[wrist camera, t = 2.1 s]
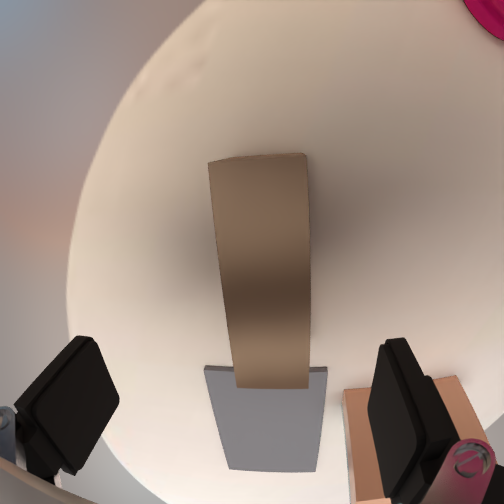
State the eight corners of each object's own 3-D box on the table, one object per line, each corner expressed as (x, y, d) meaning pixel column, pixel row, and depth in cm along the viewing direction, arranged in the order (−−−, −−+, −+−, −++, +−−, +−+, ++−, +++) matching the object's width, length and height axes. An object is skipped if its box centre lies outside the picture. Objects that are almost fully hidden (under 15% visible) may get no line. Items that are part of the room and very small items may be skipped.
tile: (344, 389, 21) (356, 501, 12) (456, 375, 20) (498, 465, 11) (341, 405, 22) (350, 513, 13) (449, 391, 21) (485, 480, 11)
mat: (327, 367, 21) (327, 371, 20) (315, 468, 26) (315, 472, 25) (205, 365, 22) (203, 370, 22) (229, 465, 27) (229, 469, 27)
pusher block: (231, 157, 17) (207, 162, 12) (302, 153, 16) (306, 156, 12) (249, 338, 21) (236, 387, 16) (307, 338, 20) (308, 389, 16)
